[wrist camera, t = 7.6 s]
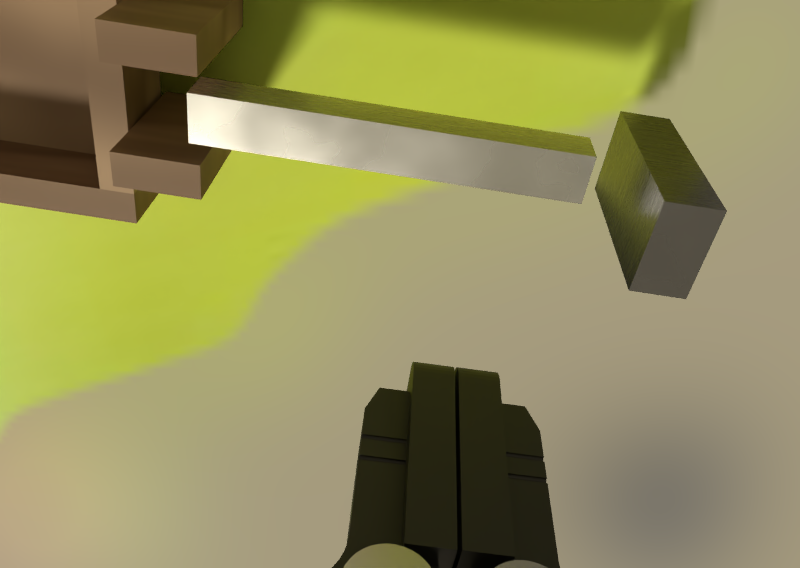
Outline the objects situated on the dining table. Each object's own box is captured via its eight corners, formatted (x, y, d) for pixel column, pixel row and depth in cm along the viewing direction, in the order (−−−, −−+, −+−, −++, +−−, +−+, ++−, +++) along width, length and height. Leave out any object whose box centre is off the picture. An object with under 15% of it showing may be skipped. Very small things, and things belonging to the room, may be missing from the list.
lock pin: (210, 46, 22) (141, 119, 18) (669, 119, 23) (726, 210, 18) (212, 128, 24) (149, 217, 19) (640, 195, 24) (686, 298, 20)
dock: (-187, -167, 22) (-342, -155, 18) (243, -97, 22) (192, -68, 18) (-97, 142, 28) (-196, 206, 24) (241, 194, 28) (202, 266, 24)
